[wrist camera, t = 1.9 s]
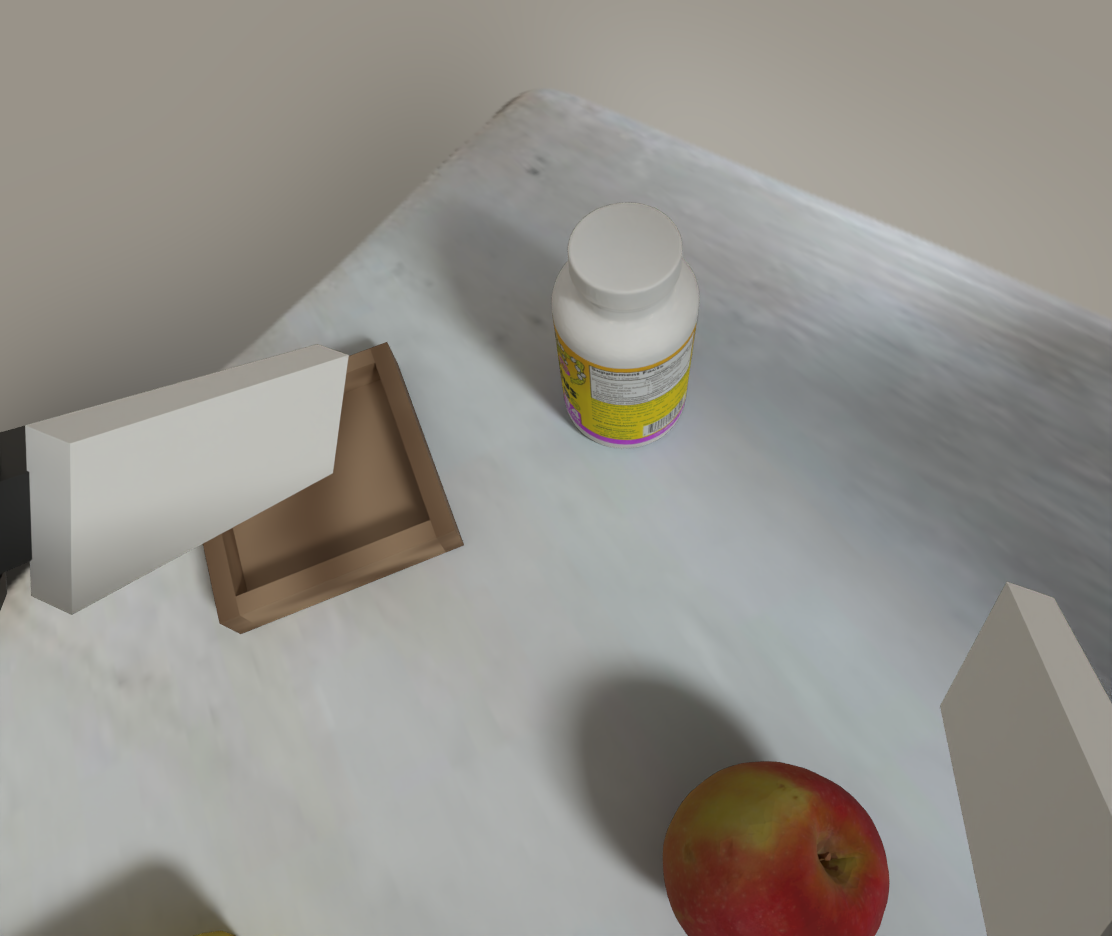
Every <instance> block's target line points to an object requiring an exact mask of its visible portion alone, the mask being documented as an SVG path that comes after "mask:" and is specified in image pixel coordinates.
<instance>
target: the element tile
mask: <svg viewBox="0 0 1112 936" xmlns="http://www.w3.org/2000/svg"><path fill="white" fill-rule="evenodd" d="M194 936H235V935H232V934H229V933H226V932H223V931H215V932H208V933H202V934H198V935H194Z"/></svg>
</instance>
